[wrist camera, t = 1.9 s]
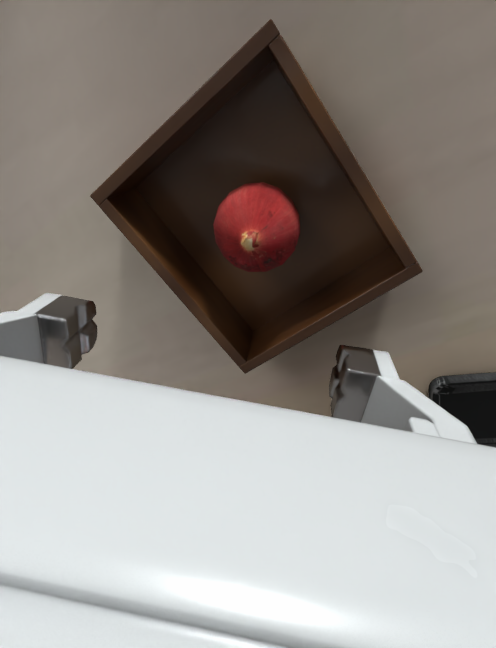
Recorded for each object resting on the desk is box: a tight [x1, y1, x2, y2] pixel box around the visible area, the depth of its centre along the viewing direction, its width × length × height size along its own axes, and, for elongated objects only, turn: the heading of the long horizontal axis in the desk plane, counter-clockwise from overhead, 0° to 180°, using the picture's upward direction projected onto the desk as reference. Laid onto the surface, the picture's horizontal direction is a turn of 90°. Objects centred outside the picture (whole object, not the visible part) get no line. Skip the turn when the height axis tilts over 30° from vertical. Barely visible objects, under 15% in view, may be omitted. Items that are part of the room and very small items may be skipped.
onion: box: [213, 182, 300, 272], centre depth 25 cm, size 6×6×8 cm
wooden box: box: [90, 19, 423, 373], centre depth 27 cm, size 17×15×5 cm
